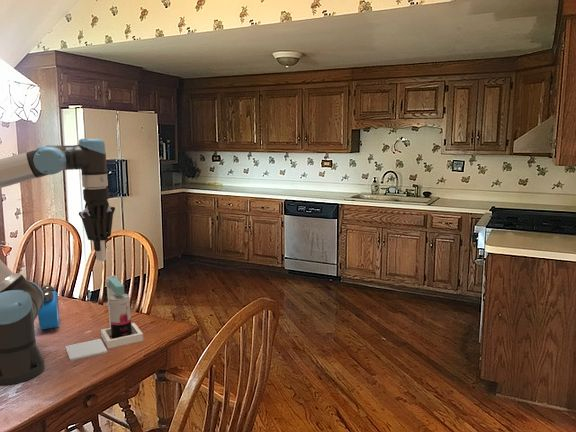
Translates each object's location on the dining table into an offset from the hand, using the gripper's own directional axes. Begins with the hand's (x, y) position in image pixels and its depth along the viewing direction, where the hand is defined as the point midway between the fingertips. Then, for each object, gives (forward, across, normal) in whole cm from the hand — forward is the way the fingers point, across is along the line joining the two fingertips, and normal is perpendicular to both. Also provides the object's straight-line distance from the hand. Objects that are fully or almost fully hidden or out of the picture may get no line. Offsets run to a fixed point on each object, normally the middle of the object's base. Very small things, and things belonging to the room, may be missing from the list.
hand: (101, 259), depth 158 cm
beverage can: (+29, +5, -2) cm, 29 cm away
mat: (+29, -7, +2) cm, 30 cm away
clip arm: (+13, +8, +3) cm, 15 cm away
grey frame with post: (+29, +6, +1) cm, 29 cm away
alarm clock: (+29, +1, +29) cm, 41 cm away
